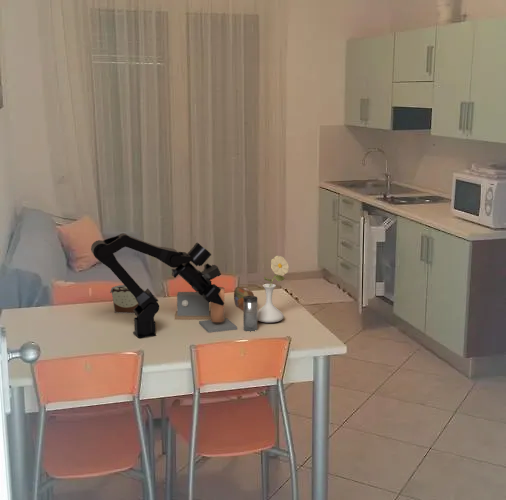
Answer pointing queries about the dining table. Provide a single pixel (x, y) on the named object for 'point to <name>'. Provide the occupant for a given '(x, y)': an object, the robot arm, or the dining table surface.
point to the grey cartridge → (250, 313)
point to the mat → (217, 325)
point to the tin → (241, 296)
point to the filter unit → (192, 306)
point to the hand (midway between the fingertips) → (221, 302)
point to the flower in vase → (269, 310)
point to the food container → (123, 300)
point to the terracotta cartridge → (218, 309)
